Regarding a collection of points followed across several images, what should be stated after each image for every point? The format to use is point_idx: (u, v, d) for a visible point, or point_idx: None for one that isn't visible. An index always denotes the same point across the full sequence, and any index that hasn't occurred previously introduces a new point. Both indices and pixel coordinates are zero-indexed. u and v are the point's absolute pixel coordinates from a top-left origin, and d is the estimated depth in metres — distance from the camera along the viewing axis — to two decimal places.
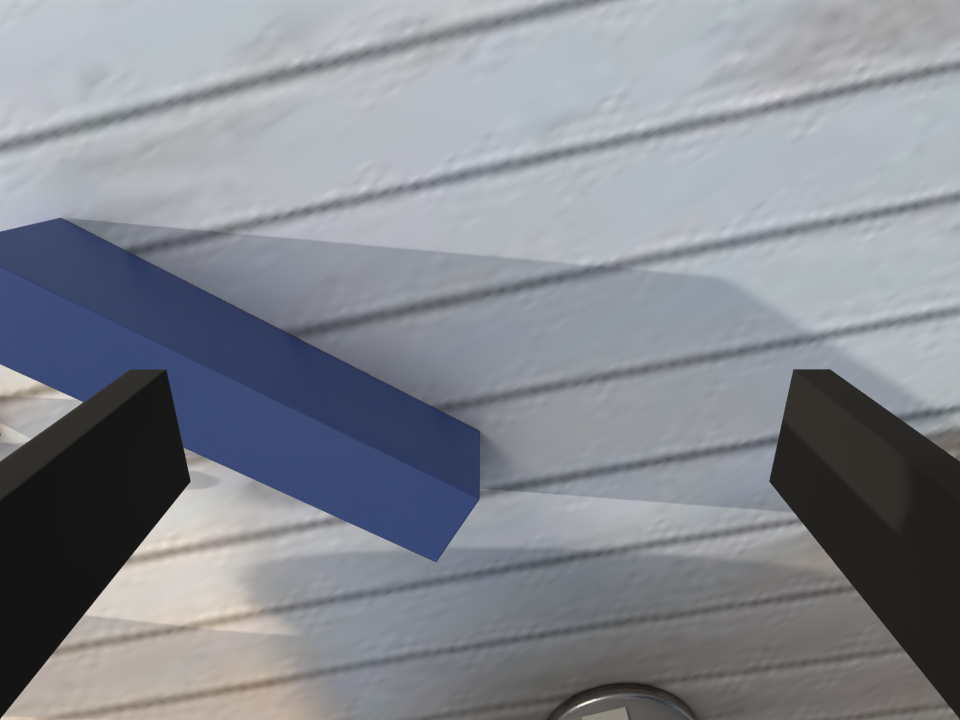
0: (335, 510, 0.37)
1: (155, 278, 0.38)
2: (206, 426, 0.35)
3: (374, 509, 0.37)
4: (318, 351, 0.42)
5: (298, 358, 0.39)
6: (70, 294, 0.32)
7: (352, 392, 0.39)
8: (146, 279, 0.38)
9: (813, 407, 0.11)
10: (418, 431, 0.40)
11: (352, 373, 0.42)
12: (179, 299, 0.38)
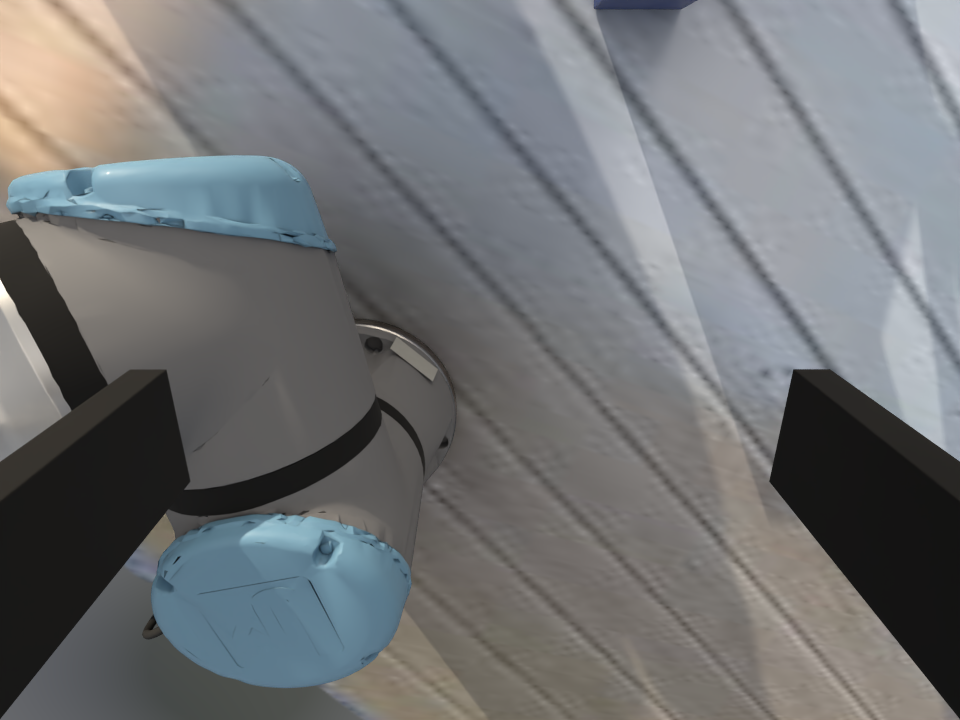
0: None
1: None
2: None
3: None
4: None
5: None
6: None
7: None
8: None
9: (813, 407, 0.11)
10: None
11: None
12: None
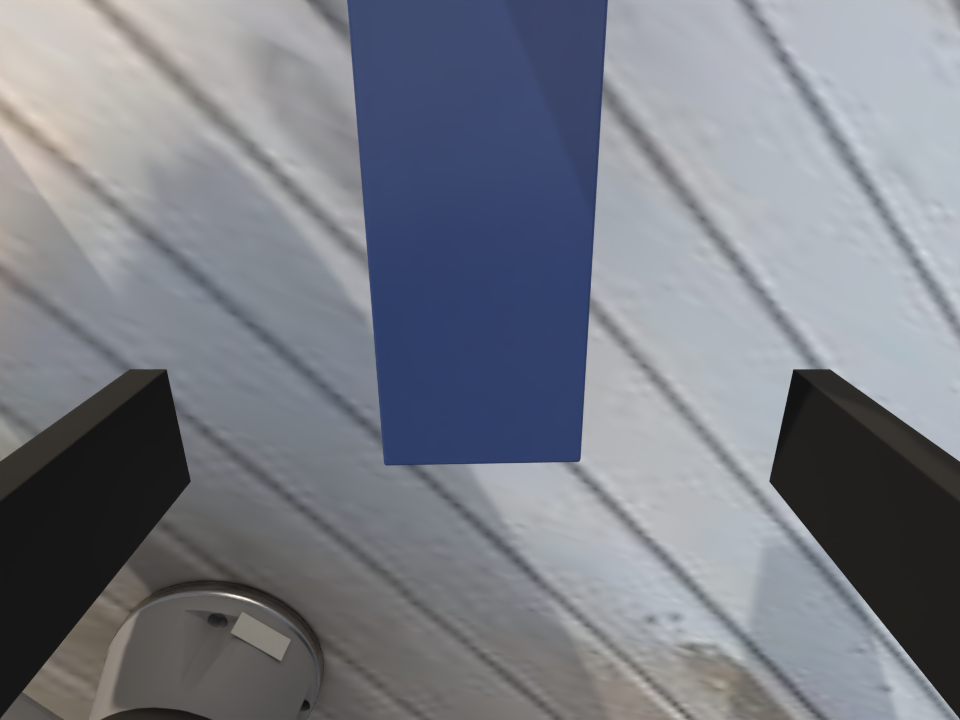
0: (381, 203, 0.14)
1: None
2: None
3: (436, 286, 0.15)
4: None
5: None
6: None
7: None
8: None
9: (813, 407, 0.11)
10: None
11: None
12: None
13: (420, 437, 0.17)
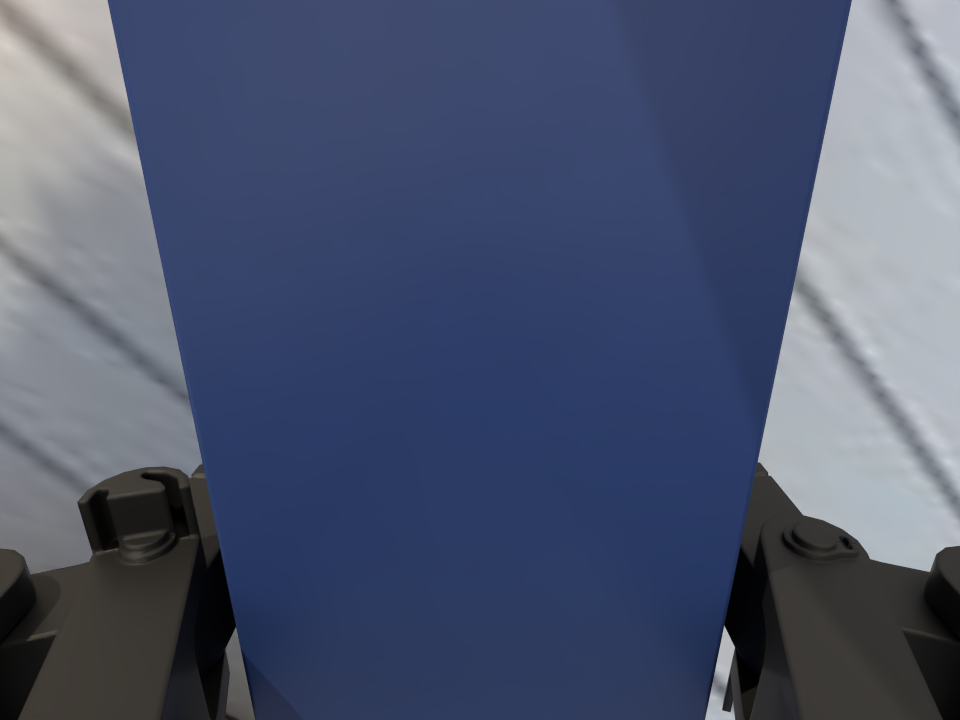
0: (231, 402, 0.06)
1: None
2: None
3: (377, 572, 0.07)
4: None
5: None
6: None
7: None
8: None
9: None
10: None
11: None
12: None
13: None
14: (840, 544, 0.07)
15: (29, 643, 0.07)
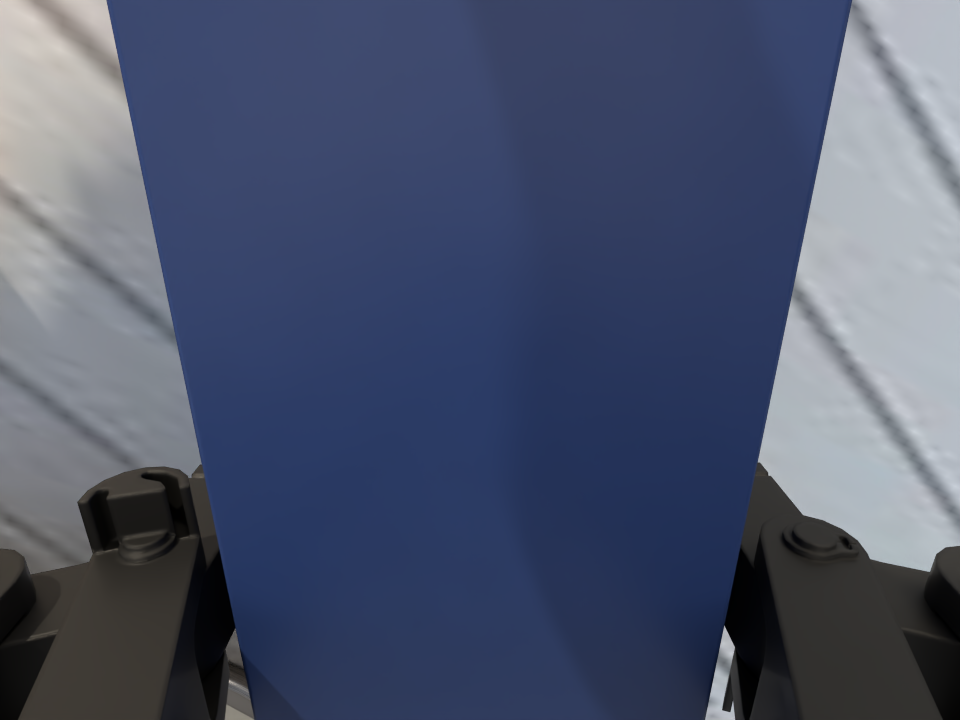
0: (231, 402, 0.06)
1: None
2: None
3: (377, 573, 0.07)
4: None
5: None
6: None
7: None
8: None
9: None
10: None
11: None
12: None
13: None
14: (840, 543, 0.07)
15: (30, 643, 0.07)
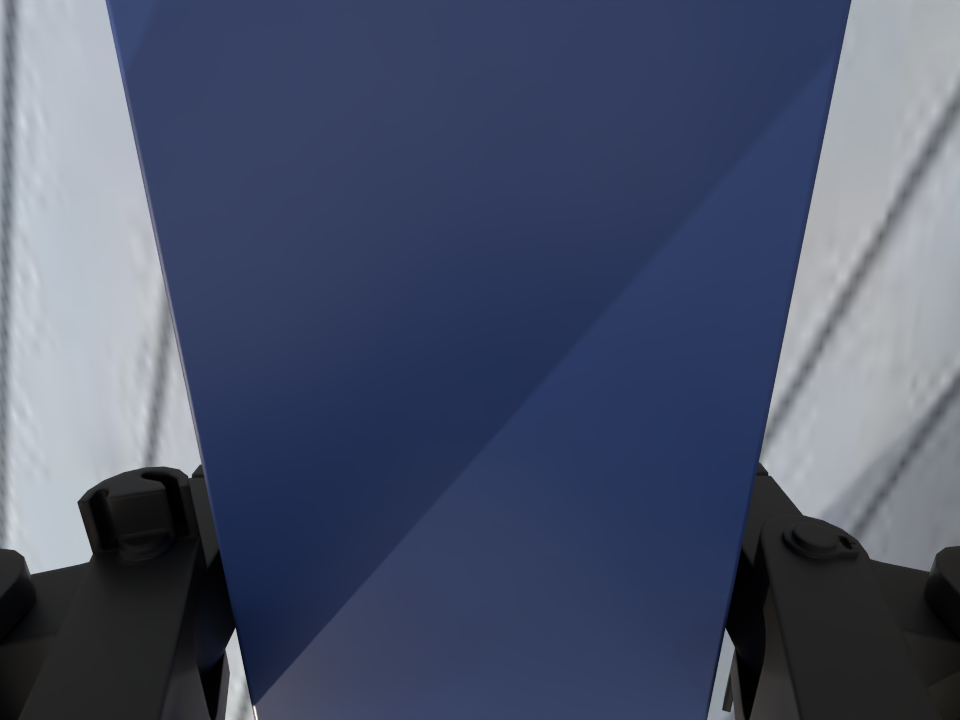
0: (224, 372, 0.06)
1: None
2: None
3: (374, 550, 0.06)
4: None
5: None
6: None
7: None
8: None
9: None
10: None
11: None
12: None
13: None
14: (840, 543, 0.07)
15: (29, 643, 0.07)
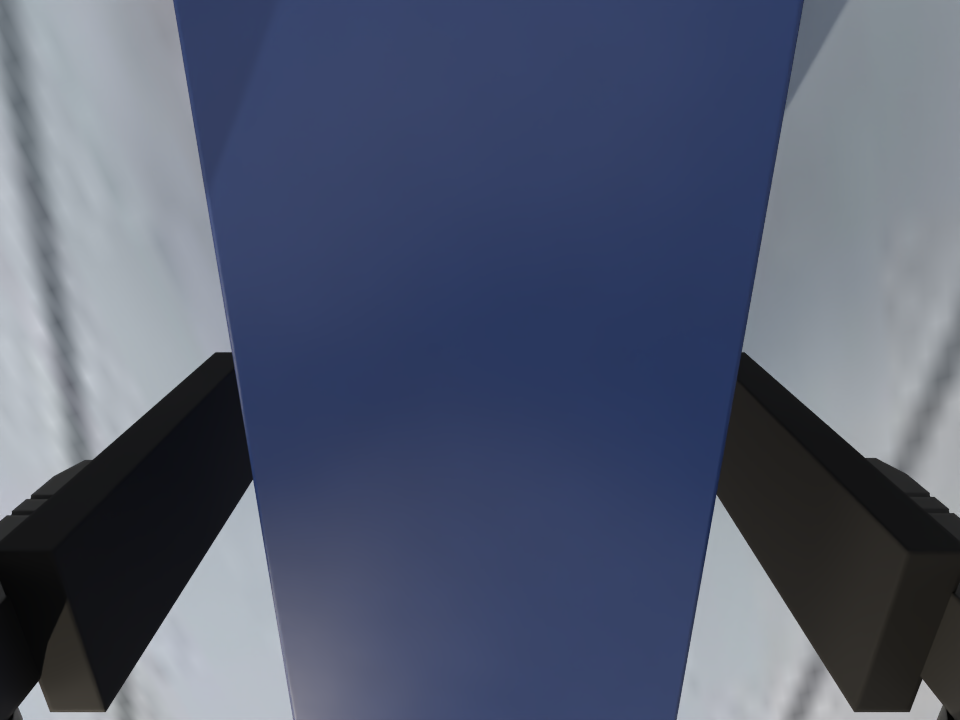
0: (267, 345, 0.06)
1: None
2: None
3: (393, 504, 0.07)
4: None
5: None
6: None
7: None
8: None
9: None
10: None
11: None
12: None
13: None
14: None
15: None
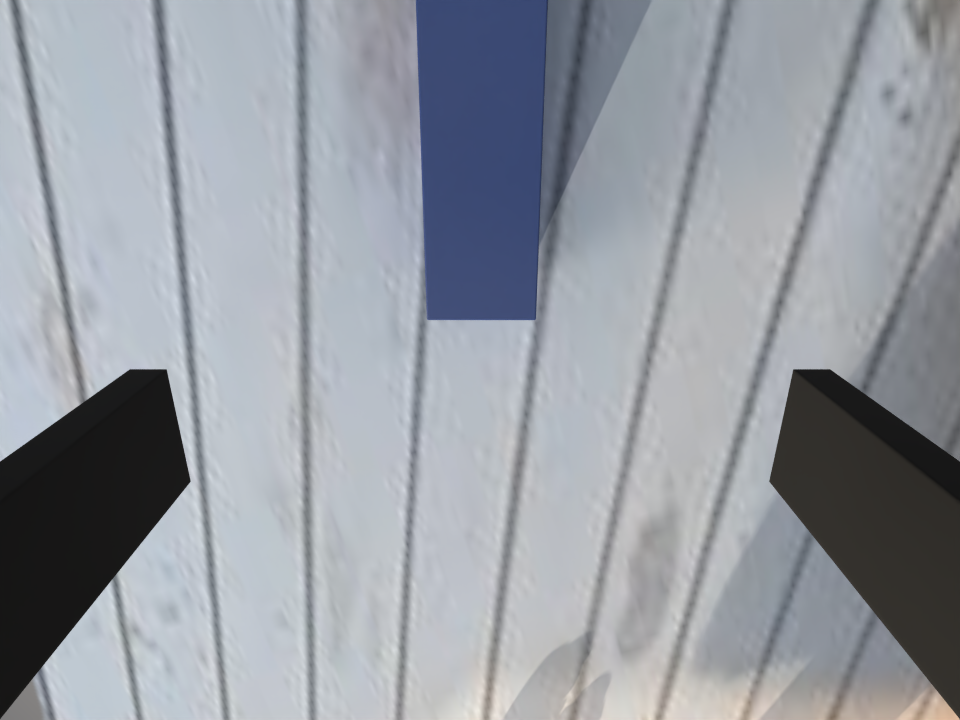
0: (430, 172, 0.28)
1: None
2: None
3: (458, 217, 0.29)
4: None
5: None
6: None
7: None
8: None
9: (813, 407, 0.11)
10: None
11: None
12: None
13: (447, 303, 0.30)
14: None
15: None
